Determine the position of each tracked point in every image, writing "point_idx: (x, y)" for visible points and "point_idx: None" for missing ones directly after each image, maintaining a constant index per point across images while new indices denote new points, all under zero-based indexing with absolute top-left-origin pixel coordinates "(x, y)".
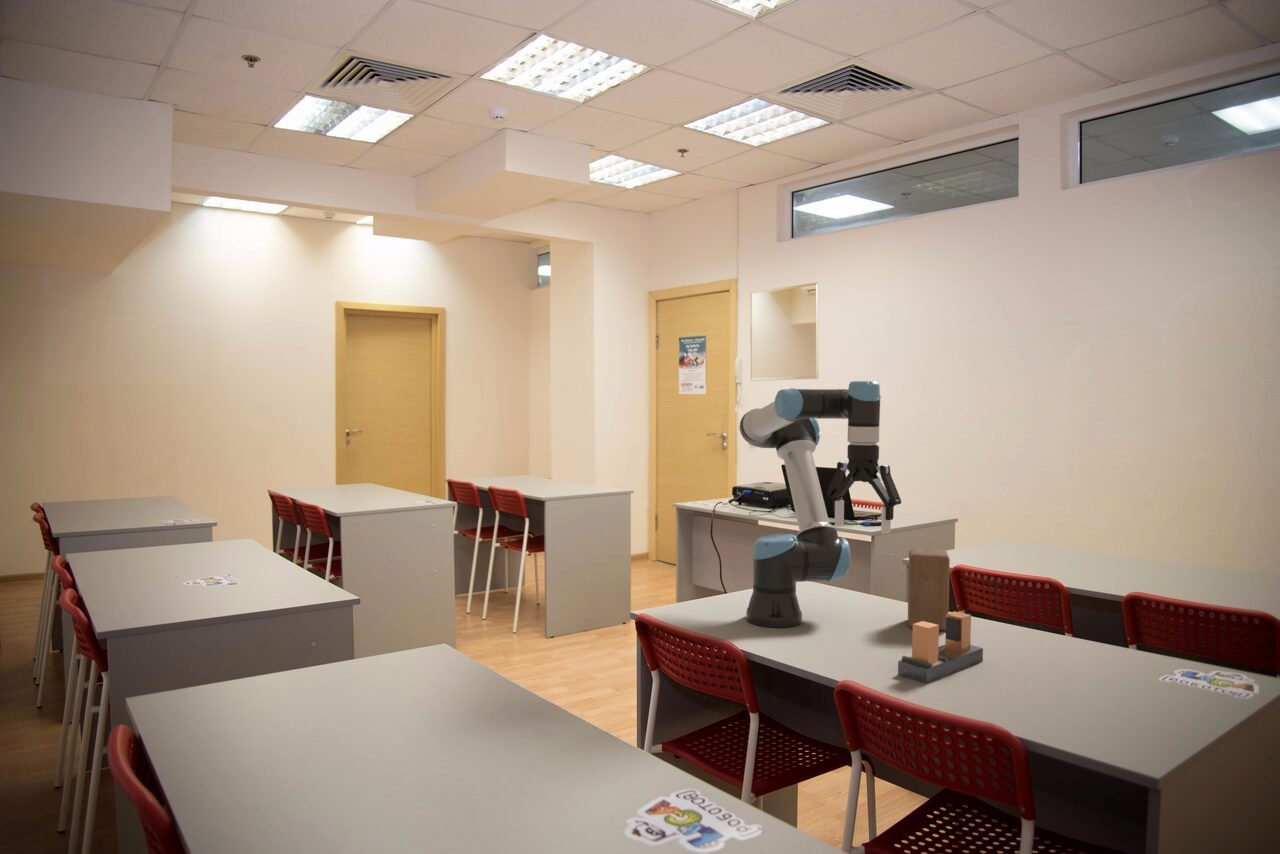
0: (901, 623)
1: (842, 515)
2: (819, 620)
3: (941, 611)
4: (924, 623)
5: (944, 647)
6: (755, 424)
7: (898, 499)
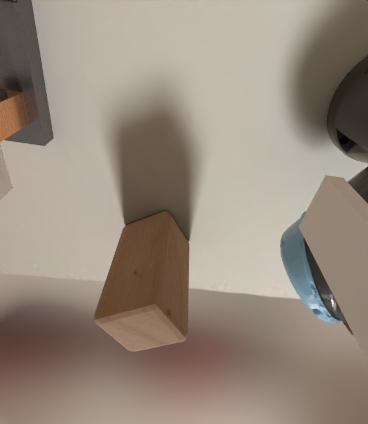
0: (187, 222)
1: (328, 260)
2: (301, 161)
3: (124, 240)
4: None
5: (26, 95)
6: None
7: None
